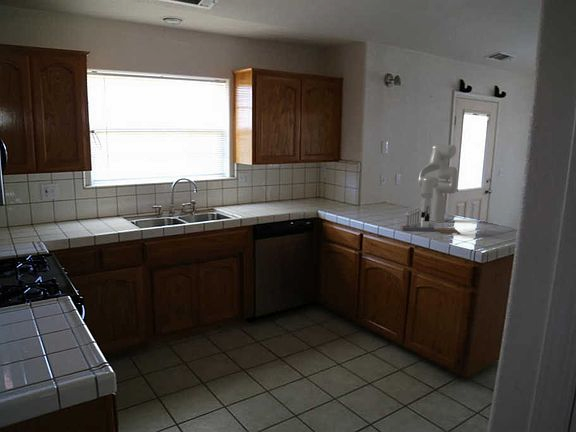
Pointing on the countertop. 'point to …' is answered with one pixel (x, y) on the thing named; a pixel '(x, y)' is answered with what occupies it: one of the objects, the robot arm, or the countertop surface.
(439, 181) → the robot arm
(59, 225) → the countertop surface
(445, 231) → the walnut board
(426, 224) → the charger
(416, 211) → the test tube rack
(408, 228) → the power strip
